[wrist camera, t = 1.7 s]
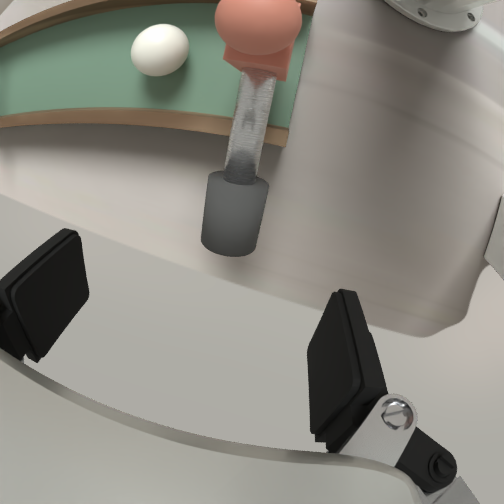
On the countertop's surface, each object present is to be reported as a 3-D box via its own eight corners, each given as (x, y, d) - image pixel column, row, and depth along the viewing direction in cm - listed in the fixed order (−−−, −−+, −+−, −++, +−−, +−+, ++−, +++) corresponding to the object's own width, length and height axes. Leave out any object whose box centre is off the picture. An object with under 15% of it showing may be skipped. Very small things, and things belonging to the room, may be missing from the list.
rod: (258, 21, 14) (223, -65, 4) (302, 29, 14) (322, -55, 4) (224, 197, 21) (167, 296, 11) (264, 205, 21) (241, 313, 11)
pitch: (-2, 44, 14) (-24, 46, 11) (313, 9, 14) (319, -9, 11) (-10, 124, 20) (-32, 132, 16) (285, 139, 20) (285, 147, 16)
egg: (151, 31, 15) (126, 21, 12) (201, 30, 15) (182, 16, 12) (143, 77, 17) (115, 75, 14) (191, 79, 17) (170, 75, 14)
